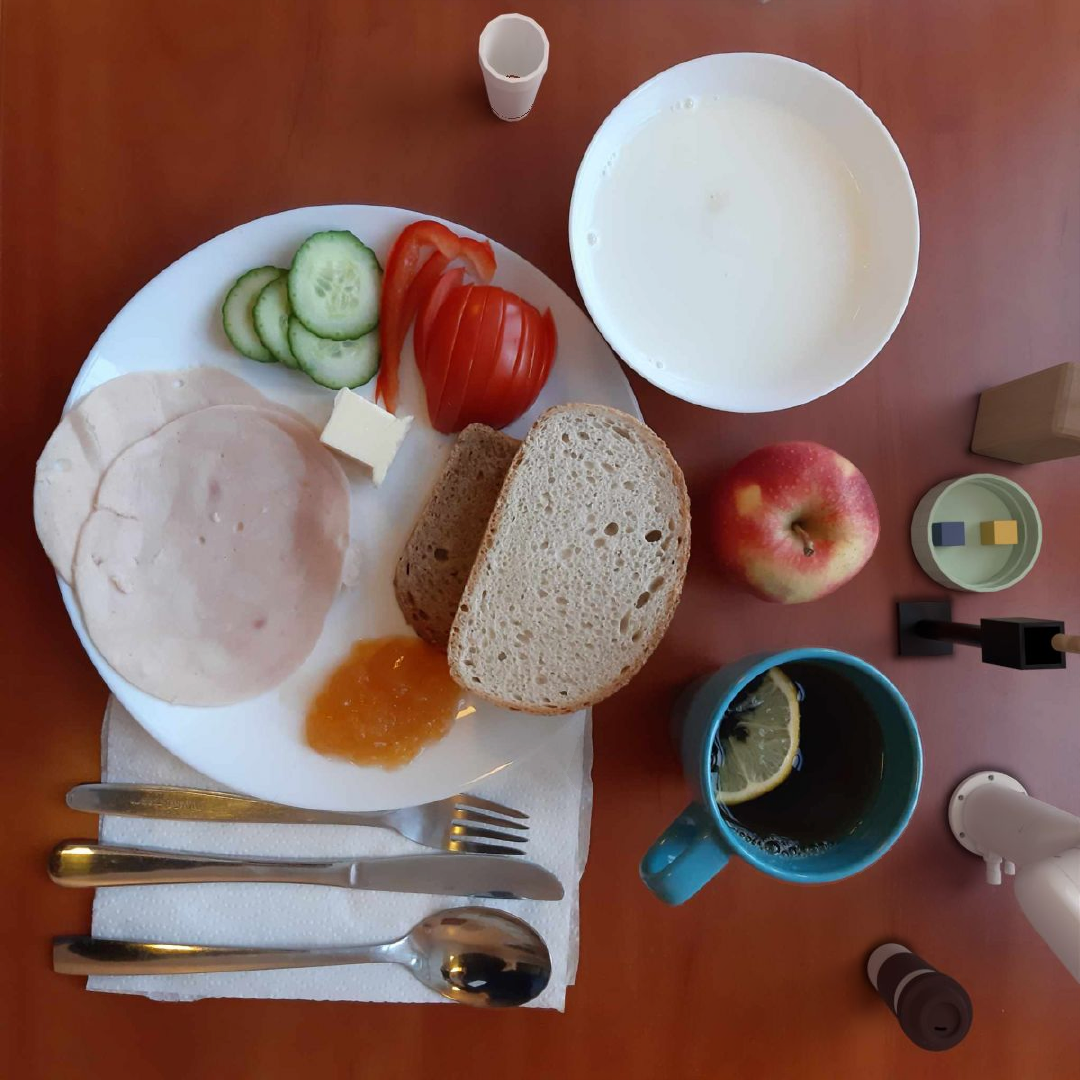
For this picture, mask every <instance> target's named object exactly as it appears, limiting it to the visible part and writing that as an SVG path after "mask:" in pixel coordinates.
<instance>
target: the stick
mask: <svg viewBox="0 0 1080 1080" xmlns="http://www.w3.org/2000/svg"><path fill="white" fill-rule="evenodd" d="M1051 643H1052V646H1053V648H1054V649H1055V650H1057V651H1062V652H1066V653H1069V654H1074V655H1075V654H1077V655H1080V635H1075V634H1074V635H1073V634H1066V633H1065V634H1056V635H1055V636H1054V637H1053V638H1052V641H1051Z"/></svg>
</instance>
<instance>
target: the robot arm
mask: <svg viewBox="0 0 1080 1080" xmlns="http://www.w3.org/2000/svg"><path fill="white" fill-rule="evenodd" d="M947 813H948V815H947V816H948V823H949V827H950V830H951V832H952V834H953V835H954V837H955V839H956V840H957V841H958V842H959V844H960V845H961V846H962V847H963V848H965V849H966V850H968V851H970V852H971V853H973V854H975V855H978V856H980V857H982V858H983V859H982V860H983V861H984V862H985V863H986V864H985V865H986V869H985V874H986V875H985V878H986V883H987V884H990V885H995V886H996V885H997V886H998V885H1001V884H1002V871H1001V863H1003V860H1004V864H1003V867H1004V869H1003V870H1004V872H1003V873H1004V874H1005V875H1009V876H1014V875H1015V876H1014V879H1013V884H1012V885H1013V893H1014V897H1015V900H1016V901H1017V904H1018V907H1019V908H1020V910H1021V911H1022V913H1023V914H1024V917H1025V918H1026V919H1027V921H1028V922H1029V924H1030V926H1032V928H1033V929H1034V930H1035V931H1036V932H1037V934H1038V935H1039V936H1040V938H1041V939H1042V941H1044V943H1045V944H1046V945H1047V947H1048V948H1049V949H1050V950H1051V951H1052V952H1053V953H1054V955H1055V956H1056V957H1057V959H1058V961H1060V962H1061V964H1062V965H1063V966H1064V967H1065V969H1066V970H1067V971H1068V972H1069V974H1070V975H1071V976H1072V977H1073V979H1074V980H1075V981H1076V982H1077V983H1078V985H1080V817H1079V816H1077V815H1074V814H1072V813H1070V812H1068V811H1066V810H1064V809H1061V808H1058V807H1057V806H1054V805H1052V804H1049V803H1047V802H1044V801H1043V800H1039V799H1037V798H1035V797H1033V796H1031V795H1029V794H1028V793H1027V791H1026V789H1025V787H1023V786H1022V784H1021V783H1020V782H1018V781H1017V780H1016V779H1015V778H1013V777H1011V776H1009V775H1007V774H1005V773H1002V772H1000V771H995V770H984V771H979V772H975V773H973V774H971V775H969V776H968V777H966V778H965V779H963V780H962V781H961V782H960V783H959V784H958V785H957V786H956V788H955V790H954V791H953V793H952V795H951V798H950V801H949V805H948V812H947ZM1016 866H1017V867H1019V868H1021V869H1020V870H1019V871H1018V872H1017V873H1016Z"/></svg>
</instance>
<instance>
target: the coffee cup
mask: <svg viewBox="0 0 1080 1080" xmlns="http://www.w3.org/2000/svg"><path fill="white" fill-rule="evenodd" d="M867 975H868V978H869V980H870V982H871V984H872V985H873V986H874V988H875V989H876V991H877V992H878V994H879V996H880V998H881V999H882V1001H883V1003H885V1005H886V1006H887V1008H888V1009H889V1011H890V1012H891V1013H892V1014H893V1016H894V1017H895V1018H896V1019H897V1021H898V1025H899V1026H900V1028H901V1030H902V1032H903V1033H904V1035H906V1037H907V1038H908V1039H909V1040H910V1042H912V1043H913V1044H914V1045H915V1046H916V1047H918V1048H920V1049H922V1050H924V1051H928V1052H933V1053H934V1052H935V1053H936V1052H937V1053H939V1052H944V1051H948V1050H951V1049H953V1048H955V1047H956V1046H958V1045H959V1044H960V1043H962V1042H963V1041H964V1039H965V1038H966V1036H967V1035H968V1034H969V1032H970V1030H971V1027H972V1024H973V1020H974V1007H973V1003H972V1002H973V1001H972V1000H971V997H970V995H969V992H968V991H967V990H966V988H964V986H963V985H962V984H960V983H959V982H958V981H957V980H956V979H955V978H953V977H952V976H951V975H948V974H946V973H943V972H941V971H940V970H939V969H937V968H936V967H934V966H933V965H931V964H930V963H929V962H928V961H926V960H925V959H923V957H921V956H919V955H917V954H915V953H913V952H911V951H910V950H909V949H908V948H906V947H905V946H903V945H901V944H897V943H885V944H882V945H880V946H878V947H877V948H876V949H874V951H872V953H871V954H870V957H869V960H868V962H867Z"/></svg>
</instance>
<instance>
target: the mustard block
mask: <svg viewBox="0 0 1080 1080" xmlns="http://www.w3.org/2000/svg"><path fill="white" fill-rule="evenodd" d="M980 524H981V545H1005V544H1018V541H1017V520H1009V521H986V522H980Z"/></svg>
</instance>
